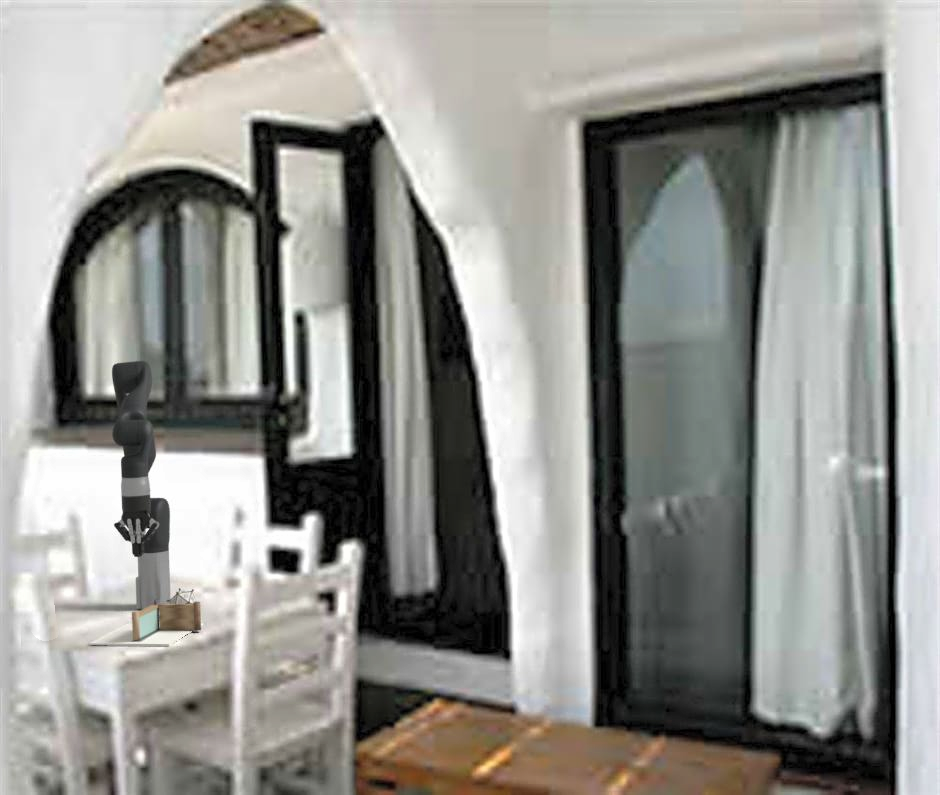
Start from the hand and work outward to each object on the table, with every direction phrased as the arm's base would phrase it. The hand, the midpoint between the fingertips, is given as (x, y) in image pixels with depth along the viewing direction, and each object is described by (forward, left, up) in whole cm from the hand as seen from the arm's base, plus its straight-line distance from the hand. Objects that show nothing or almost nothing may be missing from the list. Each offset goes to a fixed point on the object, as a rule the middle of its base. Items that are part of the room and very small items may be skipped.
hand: (138, 556), depth 318 cm
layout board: (+3, -2, -21) cm, 21 cm away
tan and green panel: (+3, -5, -20) cm, 21 cm away
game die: (+4, +21, -22) cm, 31 cm away
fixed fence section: (+10, +2, -21) cm, 23 cm away
